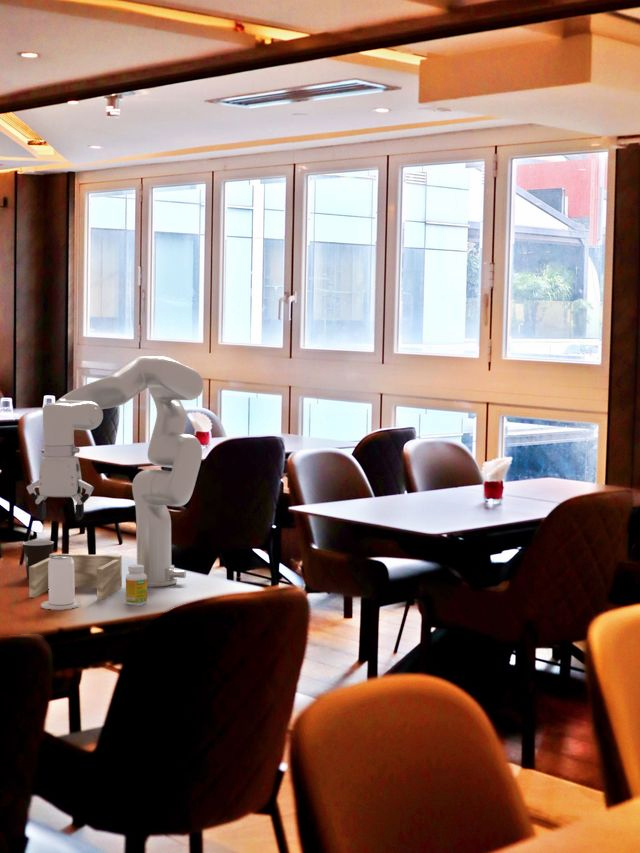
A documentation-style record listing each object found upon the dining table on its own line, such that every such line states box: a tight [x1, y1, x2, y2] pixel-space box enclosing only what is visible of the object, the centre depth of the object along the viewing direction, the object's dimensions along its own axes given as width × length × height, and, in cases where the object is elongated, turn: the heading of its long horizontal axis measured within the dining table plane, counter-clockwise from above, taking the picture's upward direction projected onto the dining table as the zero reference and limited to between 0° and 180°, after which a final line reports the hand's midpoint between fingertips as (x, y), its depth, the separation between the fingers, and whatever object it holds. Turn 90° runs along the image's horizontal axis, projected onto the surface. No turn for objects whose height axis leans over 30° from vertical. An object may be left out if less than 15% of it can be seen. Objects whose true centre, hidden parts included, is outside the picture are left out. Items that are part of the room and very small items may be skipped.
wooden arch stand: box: [28, 553, 123, 600], centre depth 324 cm, size 20×16×9 cm
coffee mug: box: [22, 539, 55, 580], centre depth 346 cm, size 12×9×10 cm
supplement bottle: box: [125, 564, 148, 606], centre depth 311 cm, size 5×5×10 cm
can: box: [48, 555, 76, 606], centre depth 308 cm, size 6×6×12 cm
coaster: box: [40, 599, 82, 611], centre depth 308 cm, size 10×10×1 cm
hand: (60, 519), depth 307 cm, fingers open, 9 cm apart
